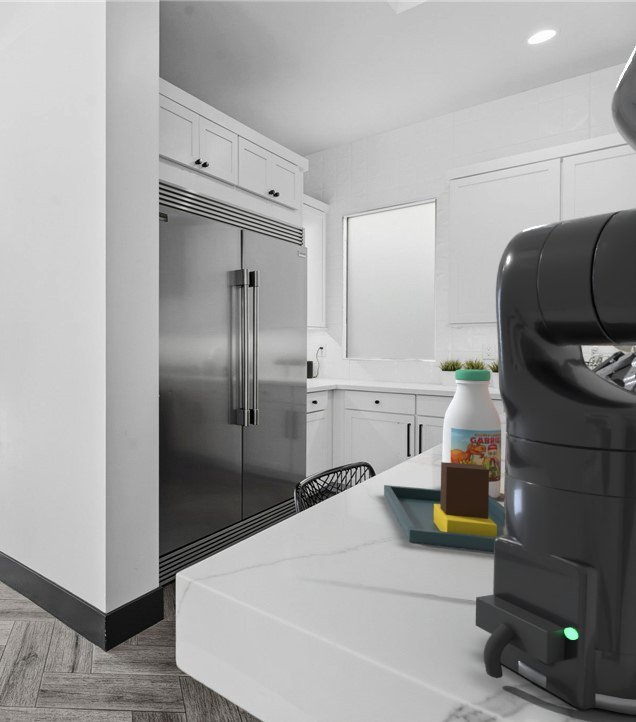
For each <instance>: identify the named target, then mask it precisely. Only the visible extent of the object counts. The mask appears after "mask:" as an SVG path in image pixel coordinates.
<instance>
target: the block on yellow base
mask: <svg viewBox="0 0 636 722" xmlns="http://www.w3.org/2000/svg"><path fill="white" fill-rule="evenodd" d="M440 490H441V503H440V504H434V523H435V524H436V526H437V527H438V528H439V530H440V531H443V532H452V533H461V534H470V535H480V536H489V537H497V525H496V524H495V523H494V522H493V521H492V520H491V519H490V518H489V517H488V504H489V469H487V468H486V467H484V466H483V465H475V464H461V463H446V462H442V461H441V462H440Z"/></svg>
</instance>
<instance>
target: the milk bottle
mask: <svg viewBox="0 0 636 722" xmlns="http://www.w3.org/2000/svg"><path fill="white" fill-rule="evenodd" d="M454 376H455V377H454V378H455V382H454V383H455V384H456V389H455V392H454V395H453V398H452V400H451V401H450V403H449V405H448V406H447V408H446V411H445V414H444V418H443V426H442V451H441V453H442V455H441V462H446V463H461V464H475V465H483V466H484V467H486V468H487V469H489V495H490V496H491V497H492V498H493V499H497V498H499V497H500V495H501V485H502V483H501V481H502V478H501V477H502V422H501V417H500V414H499V412H498V410H497V407H496V406H495V404H494V402H493V400H492V397H491V393H490V391H489V386H490V384H491V377H492V376H491V371H490V370H487V369H456V370H455V375H454Z"/></svg>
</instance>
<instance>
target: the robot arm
mask: <svg viewBox="0 0 636 722" xmlns="http://www.w3.org/2000/svg"><path fill="white" fill-rule="evenodd" d="M610 111H611V118H612V121H613V123H614V126H615V128H616V130H617V132H618V133H619V135H620V136H621V137H622V139H623V140H624V141H625V142H626V144H627V145H628V146H629V147H630V148H631V149H632V150H633V151H634V152H635V153H636V45H635V46H634V49H633V50H632V52H631V55H630V56H629V58H628V61H627V63H626V65H625V67H624V69H623V71H622V73H621V75H620V77H619V79H618V82H617V83H616V87H615V89H614V92H613V96H612V99H611V105H610ZM496 272H497V273H496V280H495V281H496V282H495V317H496V318H495V320H496V337H497V360H498V363H497V364H498V390H499V395H500V399H501V403H502V406H503V410H504V413H505V432H506V433H505V453H504V454H505V455H504V484H503V485H504V489H503V490H504V492H503V495H504V496H503V507H504V526H503V536H498V537H496V538H495V541H494V552H493V581H492V583H493V584H492V585H493V586H492V587H493V588H492V594H487V595H483V596H476V597H475V626H476V627H478V628H480V629H481V630H483V631H485V632H486V633H489V634H491V635H490V636H489V638H488V639H487V641H486V643H485V645H484V649H483V662H484V667H485V672H486V674H487V675H488V676H490V677H491V678H494V679H501V678H502V677H503V667H502V665H503V666H505V667H507V668H508V669H511V670H512V671H514V672H515V673H517V674H519V675H521V676H522V677H524V678H525V679H526V678H527V679H528V680H529V681H531V682H532V683H535V684H536V685H538V686H539V687H541V688H543V689H544V690H546V691H548V692H550V693H551V694H553V695H555V696H557V697H558V698H560V699H562V700H564V701H565V702H567V703H568V704H571V705H572V706H574V707H575V708H577V709H580V710H588V709H594V708H595V709H601V710H606V711H609V712H610V711H611V712H616V713H619V714H620V713H621V714H628V715H636V351H634V352H633V351H630V352H628V353H624V352H623V351H621V350H619V351H616V352H614V353H613V354H612V355H610V356H608V358H606V359H605V360H604V361H602V362H601V363H599V364H598V365H596V366H595V367H593V369H591V368H590V367H589V366H588V364H587V363H586V361H585V357H584V353H583V347H587V346H588V347H626V346H629V347H636V207H633V208H629V209H624V210H623V209H622V210H616V211H610V212H606V213H599V214H594V215H589V216H584V217H578V218H571V219H567V220H566V219H565V220H560V221H555V222H550V223H545V224H540V225H535V226H531V227H528V228H525V229H523V230H521V231H520V232H518V233H516V234H515V235H514V236H513V237H512V238H511V239H510V240H509V241H508V243H507V245H505V248H504V250H503V252H502V254H501V257H500V259H499V263H498V267H497V271H496Z"/></svg>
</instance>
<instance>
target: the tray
mask: <svg viewBox="0 0 636 722" xmlns="http://www.w3.org/2000/svg"><path fill="white" fill-rule="evenodd" d="M383 495H384V498H385V499H386V501H387V504H388V505H389V507H390V509H391V511H392V513H393V515H394V516H395V518H396V521H397V522H398V524H399V526H400V528H401V530H402V531H403V533H404V535H405V537H406V539H407V541H408V543H411V544H419V545H428V546H437V547H444V548H453V549H462V550H470V551H478V552H479V551H480V552H488V553H494V541H495V538H496V537H489V536H480V535H470V534H461V533H452V532H443V531H440V530H439V528H438V527H437V526H436V524H435V523H434V504H440V503H441V489H437V488H436V489H435V488H426V487H425V488H424V487H413V486H412V487H411V486H402V485H401V486H400V485H390V484H384V485H383ZM488 517H489V518H490V519H491V520H492V521H493V522H494V523H495V524H496V525H497V537H498V536H503V526H504V505H502V504H501V503H499V501H497V500H496V498H492V497H491V496H490V495H489V504H488Z"/></svg>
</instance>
